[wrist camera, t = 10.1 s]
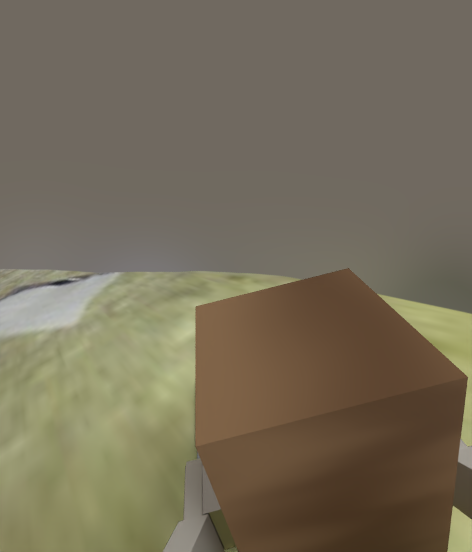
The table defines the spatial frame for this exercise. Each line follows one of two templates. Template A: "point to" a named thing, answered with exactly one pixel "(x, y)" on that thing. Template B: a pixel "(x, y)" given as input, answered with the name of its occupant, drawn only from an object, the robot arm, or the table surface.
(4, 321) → the table surface
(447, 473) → the wooden post
